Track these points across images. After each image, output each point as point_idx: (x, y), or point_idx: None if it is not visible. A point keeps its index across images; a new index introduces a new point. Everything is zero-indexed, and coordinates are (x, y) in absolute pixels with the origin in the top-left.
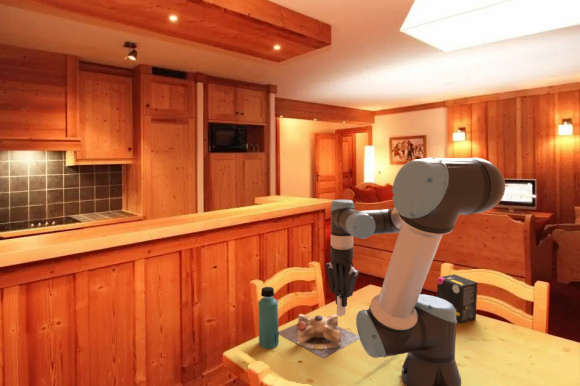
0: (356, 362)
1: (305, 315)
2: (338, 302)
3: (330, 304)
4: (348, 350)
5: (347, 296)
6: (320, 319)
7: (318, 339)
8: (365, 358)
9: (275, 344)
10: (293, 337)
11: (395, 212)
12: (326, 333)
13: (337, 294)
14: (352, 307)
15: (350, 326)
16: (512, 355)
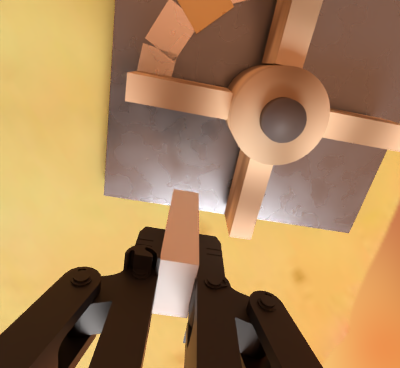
0: (28, 28)
1: (377, 147)
2: (183, 235)
3: (336, 342)
4: (109, 96)
5: (67, 276)
6: (264, 110)
7: (240, 67)
8: (23, 81)
9: None
10: (355, 5)
11: None
12: (207, 85)
13: (197, 282)
14: None
15: None
16: None
